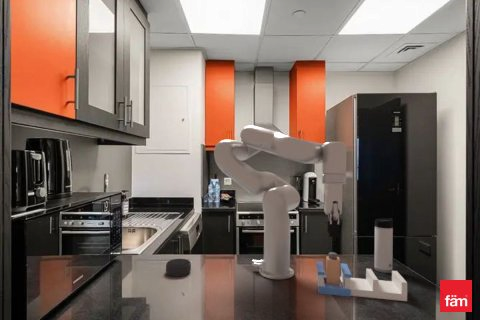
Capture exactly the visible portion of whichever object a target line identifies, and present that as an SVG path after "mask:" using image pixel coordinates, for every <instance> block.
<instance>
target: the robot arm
mask: <svg viewBox="0 0 480 320" xmlns="http://www.w3.org/2000/svg"><path fill="white" fill-rule="evenodd" d="M239 137H240V140H233V139H223V140H221V141H218V143H216V144H215V147H214V149H213V156H214V157H213V158H214V161H215V163H216V166H217V167H218V168H219V170H220V171H221V173H223V174H225V176H227V177H228V178H230V179H231V180H232V181H234V182H235V183H236V184H238V186H239V187H241V188H242V189H244V191H246V192H248V193H249V194H250V195H252V196H254V197H262V200H261V206H262V212H263V231H264V232H263V259H260V260H259V259H252V260H251V266H254V268H259V270H258V271H259V274H260V275H261V276H262V277H264V278H265V279H266V278H267V279H271V280H288V279H291V278H293V277H294V275H295V271H294V269H293V268H291V267H290V266H291V265H290V263H291V221H290V220H291V219H290V215H289V211H292V210H295V209H296V208H297V207H298V206H299V205H300V201H301V197H300V193H299V191H298V190H297V189H296V188H295V187H294V186H292V185H291V184H290V183H289V182H287V181H285V180H284V179H282V178H281V177H279V176H278V175H277V174H275V173H272V172H270V171H259V170H256V169H254V168H253V167H252V166H250V165H249V164H247V163H246V162H244V161H246V160H248V159H250V158H251V157H253V156H254V155H257V154H258V153H260V152H262V151H263V152H266V153H269V154H272V155H275V156H277V157H281V158H284V159H287V160H290V161H293V162H297V163H301V164H310V165H311V164H312V165H315V164H316V165H317V164H322V167H321V168H322V169H321V173H322V175H321V184H324V202H323V204H324V205H323V213H325V215H326V216H328V217H327V230H326V231H327V233H328V236H329V237H330V238H339V237H340V233H341V232H340V230H341V229H340V228H341V226H340V216H341V215H342V212H343V185H347V144H346V142H343V141H327V142H324V143H322V142H315V141H310V140H305V139H301V138H297V137H293V136H288V135H285V134H283V133H282V132H281V131H276V130H273V129H268V128H265V127H262V126H256V125H246V126H245V127H243V129H242V130H241V131H240V133H239Z"/></svg>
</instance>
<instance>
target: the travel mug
mask: <svg viewBox="0 0 480 320" xmlns="http://www.w3.org/2000/svg"><path fill="white" fill-rule="evenodd" d="M394 221H395V220H394V219H393V218H391V217H390V218H387V217H386V218H382V217H381V218H376V219H375V220H374V257H373V259H374V260H373V261H374V265H373V266H374V270H375V271H376V272H378V273H379V272H380V273H383V274H392V271H393V256H394V255H393V249H394V248H393V246H394V245H393V244H394V243H393V242H394V241H393V239H394V238H393V237H394V234H393V233H394V228H393V222H394Z"/></svg>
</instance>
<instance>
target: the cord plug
mask: <svg viewBox="0 0 480 320" xmlns="http://www.w3.org/2000/svg"><path fill="white" fill-rule="evenodd" d="M340 263H341V259H340V256H338V253H336V252H333V251H332V252H331V251H330V252H328V255H326V256H325V275H326V284H332V285H340V277H341V266H340Z"/></svg>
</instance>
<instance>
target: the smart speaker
mask: <svg viewBox="0 0 480 320" xmlns="http://www.w3.org/2000/svg"><path fill="white" fill-rule="evenodd" d="M191 271H192V263H191V261H190V260H189V259H186V258H175V259H174V258H173V259H170V260H168V261H167V262H166V264H165V273H166V274H167V275H168V276H171V277H183V276H186V275H188V274H190V273H191Z"/></svg>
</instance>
